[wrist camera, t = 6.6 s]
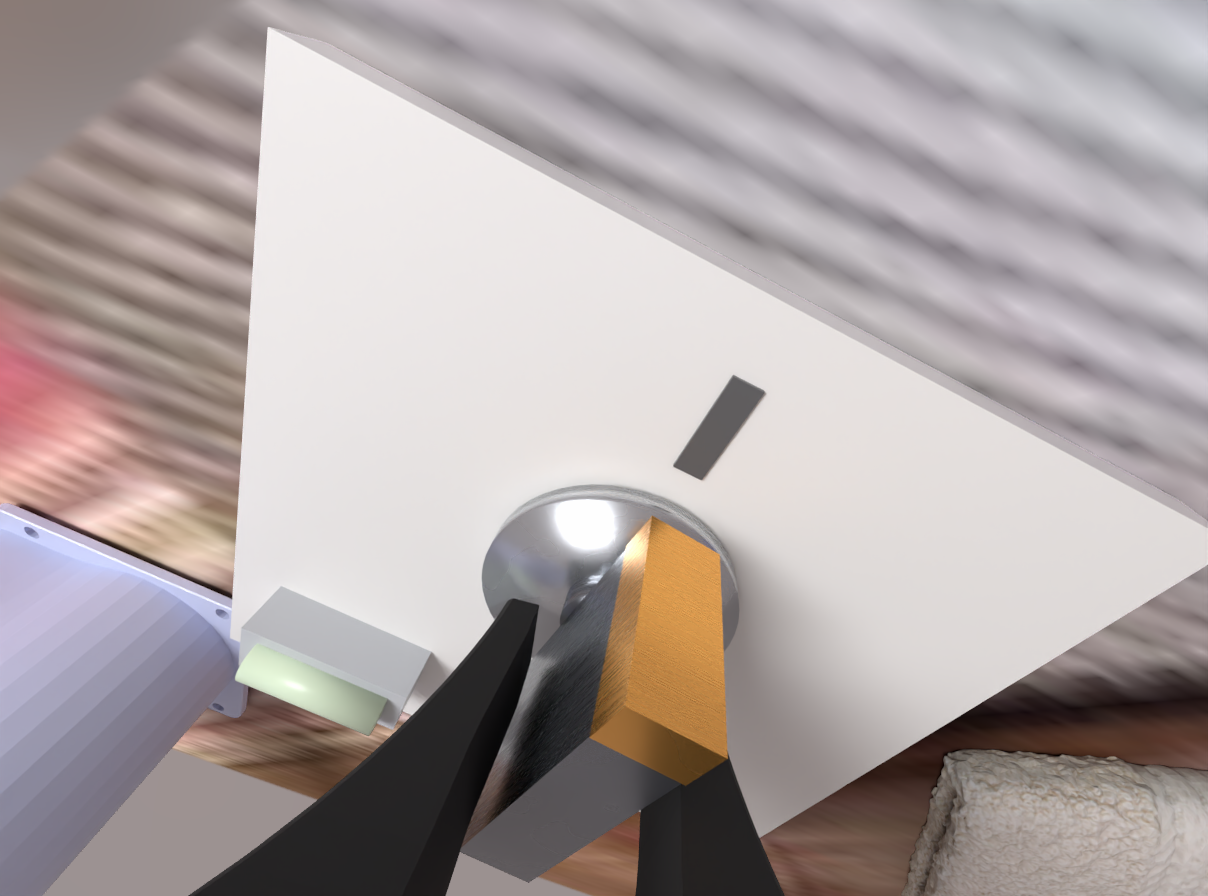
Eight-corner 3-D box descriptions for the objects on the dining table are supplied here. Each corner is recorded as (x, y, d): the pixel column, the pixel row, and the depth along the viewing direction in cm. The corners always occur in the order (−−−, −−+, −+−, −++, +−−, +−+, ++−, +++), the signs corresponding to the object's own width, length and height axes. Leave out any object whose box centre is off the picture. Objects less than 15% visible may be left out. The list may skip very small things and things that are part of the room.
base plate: (261, 604, 19) (168, 702, 16) (325, 42, 10) (127, -10, 6) (733, 809, 21) (739, 935, 17) (1179, 500, 11) (1375, 647, 8)
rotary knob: (648, 698, 15) (624, 932, 11) (455, 598, 14) (342, 807, 10) (803, 566, 12) (865, 829, 7) (563, 425, 11) (464, 624, 6)
